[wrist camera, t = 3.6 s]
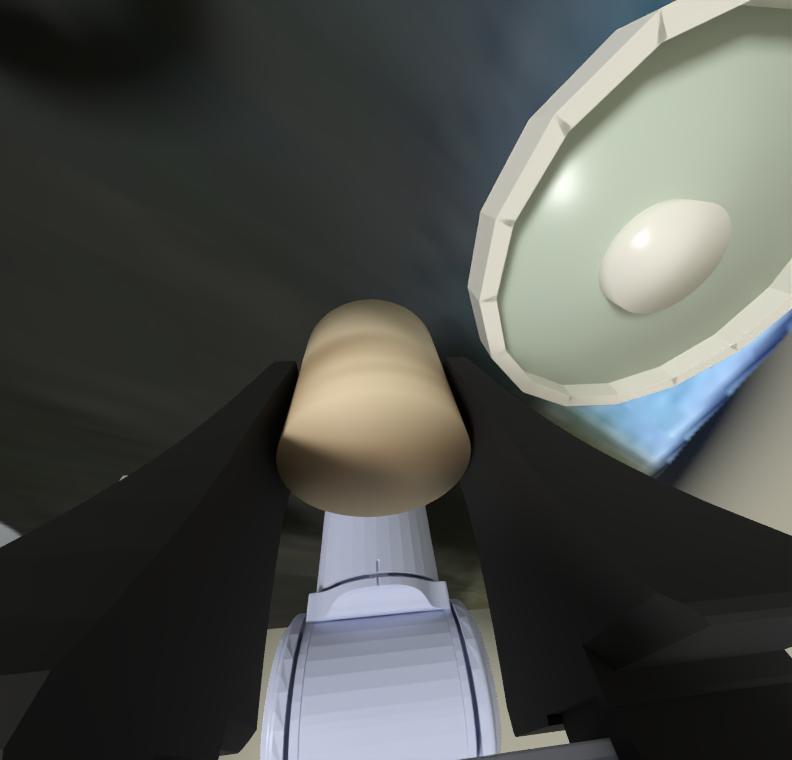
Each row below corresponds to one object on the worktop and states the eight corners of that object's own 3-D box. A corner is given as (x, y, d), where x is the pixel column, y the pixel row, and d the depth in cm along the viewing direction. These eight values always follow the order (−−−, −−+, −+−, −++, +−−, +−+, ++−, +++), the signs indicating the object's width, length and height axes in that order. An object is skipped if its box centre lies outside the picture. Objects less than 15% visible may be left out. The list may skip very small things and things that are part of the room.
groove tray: (689, 381, 22) (715, 399, 20) (449, 390, 20) (457, 411, 18) (983, 0, 11) (1088, -27, 9) (523, -42, 9) (555, -82, 8)
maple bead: (428, 404, 12) (455, 510, 8) (316, 409, 12) (295, 522, 8) (440, 298, 9) (489, 387, 6) (296, 300, 9) (252, 396, 5)
